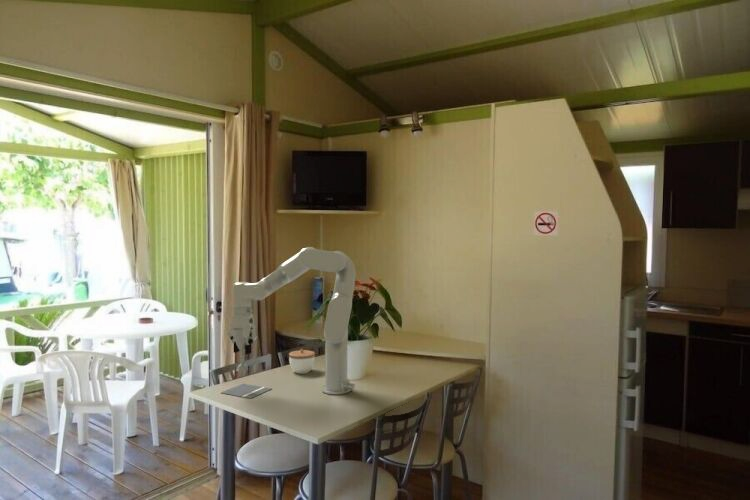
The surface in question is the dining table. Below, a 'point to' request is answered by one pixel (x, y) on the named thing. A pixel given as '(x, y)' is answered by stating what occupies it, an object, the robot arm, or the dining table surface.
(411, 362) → the dining table surface
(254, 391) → the mat
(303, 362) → the lidded bowl
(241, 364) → the chalice
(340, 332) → the robot arm
